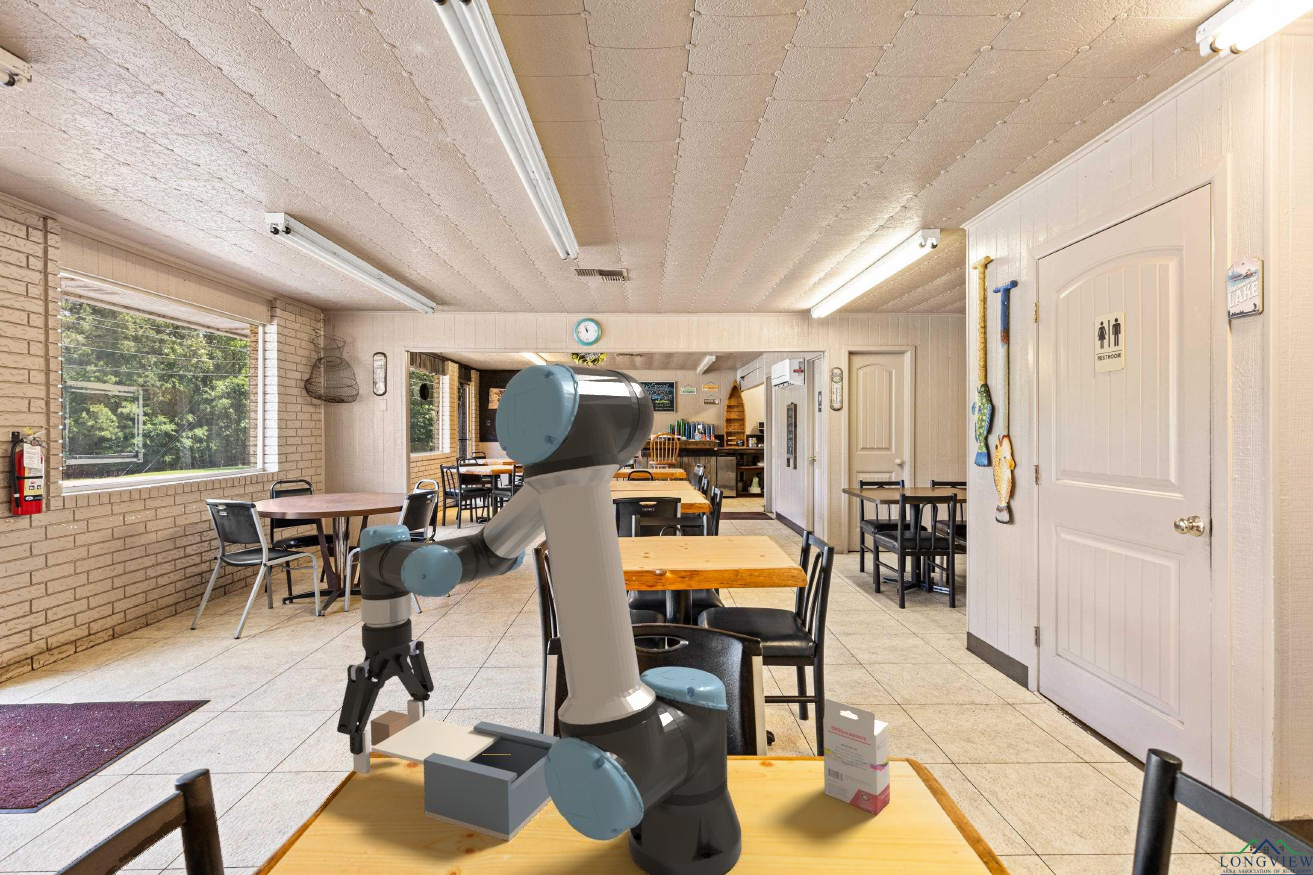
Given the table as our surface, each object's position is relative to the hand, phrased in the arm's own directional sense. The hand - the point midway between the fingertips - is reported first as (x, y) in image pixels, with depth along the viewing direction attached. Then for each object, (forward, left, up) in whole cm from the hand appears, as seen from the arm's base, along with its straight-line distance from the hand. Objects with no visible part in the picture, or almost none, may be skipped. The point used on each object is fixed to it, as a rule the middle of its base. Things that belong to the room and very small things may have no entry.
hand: (390, 754), depth 105 cm
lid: (-8, 0, +2) cm, 8 cm away
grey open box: (-21, 0, -3) cm, 21 cm away
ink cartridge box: (-71, -22, -4) cm, 74 cm away
